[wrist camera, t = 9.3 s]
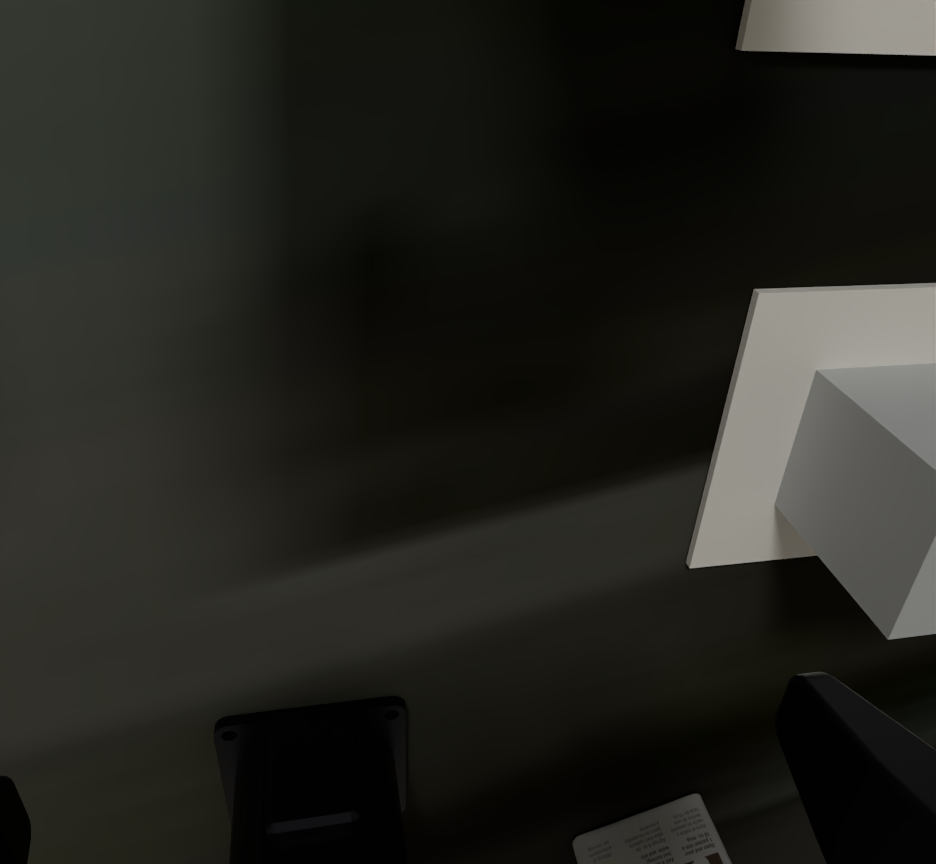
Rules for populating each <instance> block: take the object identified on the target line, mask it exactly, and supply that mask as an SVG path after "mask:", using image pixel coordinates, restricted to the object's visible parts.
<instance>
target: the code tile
mask: <svg viewBox="0 0 936 864" xmlns="http://www.w3.org/2000/svg"><path fill="white" fill-rule="evenodd" d="M735 49H737V50H741V51H775V52H814V53H854V54H893V55H933V56H936V0H745V3H744V8H743V13H742V18H741V23H740V28H739V33H738V38H737V43H736V48H735Z"/></svg>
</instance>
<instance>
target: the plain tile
mask: <svg viewBox="0 0 936 864" xmlns="http://www.w3.org/2000/svg"><path fill="white" fill-rule="evenodd" d="M930 363H936V283H921V284H891V285H862V286H832V287H803V288H773V289H754V290H753V294H752V298H751V302H750V306H749V310H748V314H747V318H746V322H745V326H744V330H743V334H742V339H741V343H740V347H739V351H738V355H737V359H736V363H735V367H734V371H733V375H732V379H731V383H730V387H729V391H728V395H727V399H726V403H725V407H724V411H723V415H722V419H721V423H720V427H719V431H718V435H717V439H716V443H715V447H714V451H713V455H712V459H711V463H710V467H709V471H708V475H707V479H706V484H705V488H704V492H703V496H702V500H701V504H700V508H699V512H698V516H697V520H696V524H695V528H694V532H693V536H692V540H691V544H690V548H689V552H688V556H687V560H686V564H687V565H688V567H689V568H699V567H709V566H719V565H729V564H738V563H748V562H758V561H768V560H778V559H788V558H798V557H807V556H817V554H816V553H815V552H814V551H813V550H812V548H811V547H810V546H809V545H808V544H807V542H806V541H805V540H804V539H803V538H802V536H801V535H800V534H799V533H798V532H797V530H796V529H795V528H794V527H793V526H792V525H791V523H790V522H789V521H788V520H787V519H786V517H785V516H784V515H783V514H782V513H781V511H780V510H779V509H778V508H777V507H776V505H775V501H776V497H777V494H778V491H779V488H780V485H781V481H782V478H783V475H784V472H785V468H786V465H787V462H788V459H789V456H790V452H791V449H792V446H793V443H794V439H795V436H796V433H797V430H798V427H799V423H800V420H801V417H802V414H803V410H804V407H805V404H806V401H807V398H808V394H809V391H810V388H811V385H812V381H813V378H814V375H815V372H816V370H820V369H839V368H857V367H875V366H893V365H912V364H930Z"/></svg>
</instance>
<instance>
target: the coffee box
mask: <svg viewBox="0 0 936 864" xmlns="http://www.w3.org/2000/svg"><path fill="white" fill-rule="evenodd" d="M573 848H574V852H575V856H576V859H577V863H578V864H732V863H731V860H730V858H729V856H728V854H727V852H726V850H725V848H724V846H723V843H722V841H721V839H720V837H719V835H718V833H717V831H716V828H715V826H714V824H713V822H712V820H711V818H710V816H709V814H708V811H707V809H706V807H705V805H704V803H703V800H702V798H701V796H700V795H699V794H691V795H688V796H685V797H682V798H680V799H677V800H674V801H672V802H669V803H667V804H664V805H661V806H659V807H656V808H653V809H651V810H648V811H645V812H642V813H639V814H637V815H634V816H631V817H629V818H626V819H623V820H620V821H618V822H615V823H612V824H610V825H607V826H604V827H601V828H599V829H596V830H593V831H590V832H587V833H584V834H582V835H579V836H577V837H576V838H575V839H574V841H573Z"/></svg>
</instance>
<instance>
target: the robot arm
mask: <svg viewBox="0 0 936 864" xmlns="http://www.w3.org/2000/svg"><path fill="white" fill-rule="evenodd" d="M775 729H776V733H777V737H778V740H779V742H780V745H781V747H782V750H783V753H784V755H785V758H786V761H787V763H788V766H789V768H790V771H791V774H792V776H793V779H794V782H795V784H796V787H797V789H798V792H799V795H800V797H801V800H802V803H803V805H804V808H805V810H806V813H807V816H808V818H809V821H810V824H811V826H812V829H813V831H814V834H815V837H816V839H817V841H818V844H819V846H820V849H821V851H822V853H823V856H824V858H825V860H826V862H827V864H936V750H935V749H934V748H932V747H931V746H930V745H928V744H927V743H925V742H924V741H923V740H921V739H920V738H918V737H917V736H916V735H914V734H913V733H911V732H910V731H909V730H907V729H906V728H904V727H903V726H901V725H900V724H899V723H897V722H896V721H894V720H893V719H892V718H890V717H889V716H887V715H886V714H885V713H883V712H882V711H880V710H879V709H878V708H876V707H875V706H873V705H872V704H871V703H869V702H868V701H866V700H865V699H864V698H862V697H861V696H859V695H858V694H857V693H855V692H854V691H852V690H851V689H850V688H848V687H847V686H845V685H844V684H843V683H841V682H840V681H838V680H837V679H836V678H834V677H833V676H831V675H829V674H827V673H824V672H813V673H805V674H797V675H795V676H793V677H792V678H791V679H790V681H789V682H788V685H787V687H786V690H785V692H784V695H783V698H782V700H781V703H780V705H779V708H778V710H777V713H776V716H775ZM214 741H215V746H216V752H217V757H218V762H219V767H220V772H221V777H222V782H223V787H224V792H225V797H226V802H227V807H228V812H229V817H230V822H231V827H232V832H231V847H230V863H229V864H408V862H407V854H406V846H405V838H404V830H403V822H402V814H401V813H402V812H403V811H404V810H405V808H406V709H405V703H404V700H402V699H401V698H399V697H396V696H389V697H381V698H373V699H365V700H357V701H349V702H341V703H333V704H325V705H317V706H308V707H300V708H292V709H284V710H276V711H268V712H260V713H252V714H244V715H236V716H228V717H224V718H221V719H220V720H218V721H217V722H216V724H215V730H214ZM30 841H31V825H30V820H29V817H28V814H27V812H26V810H25V807H24V805H23V803H22V800H21V798H20V796H19V793H18V791H17V789H16V786H15V784H14V782H13V781H12V779H11V778H9V777H7V776H0V864H27V861H28V855H29V848H30Z"/></svg>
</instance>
